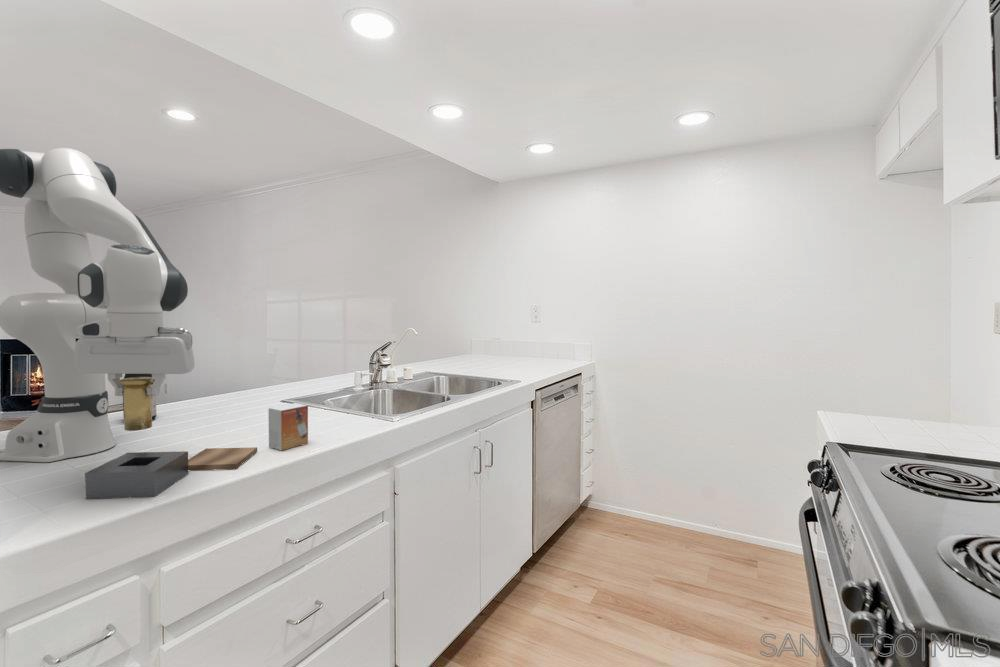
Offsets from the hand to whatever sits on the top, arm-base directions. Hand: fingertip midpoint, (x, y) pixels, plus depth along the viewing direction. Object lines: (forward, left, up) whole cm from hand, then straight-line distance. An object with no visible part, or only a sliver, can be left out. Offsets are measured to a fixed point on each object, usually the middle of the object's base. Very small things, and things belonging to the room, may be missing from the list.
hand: (137, 395), depth 92 cm
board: (+9, +14, -19) cm, 25 cm away
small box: (+21, +25, -19) cm, 38 cm away
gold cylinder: (0, 0, -7) cm, 7 cm away
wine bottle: (-32, +54, -19) cm, 65 cm away
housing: (0, 0, -19) cm, 19 cm away
